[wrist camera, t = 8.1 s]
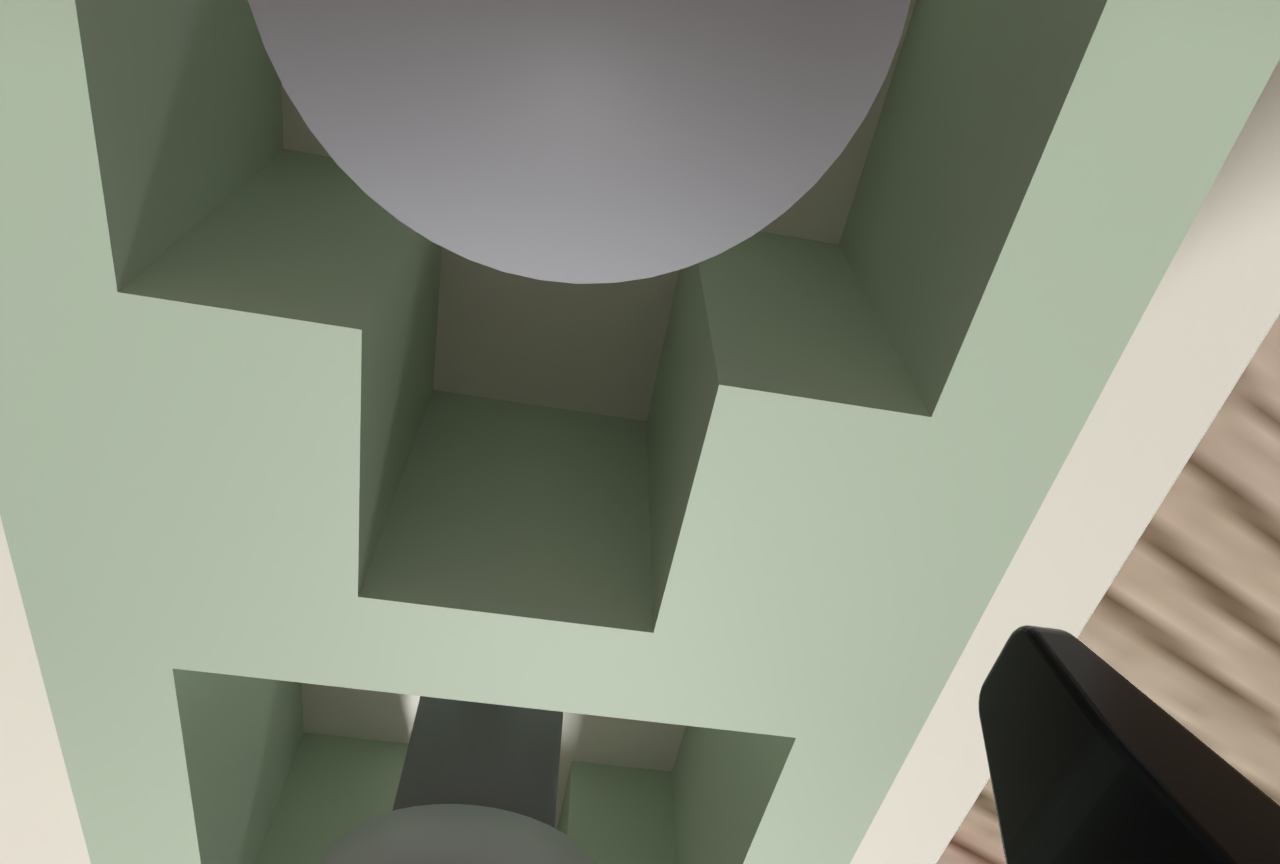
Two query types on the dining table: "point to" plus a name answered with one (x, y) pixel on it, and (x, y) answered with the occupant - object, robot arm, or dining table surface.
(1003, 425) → the panel
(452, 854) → the board
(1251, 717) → the dining table surface
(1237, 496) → the dining table surface
